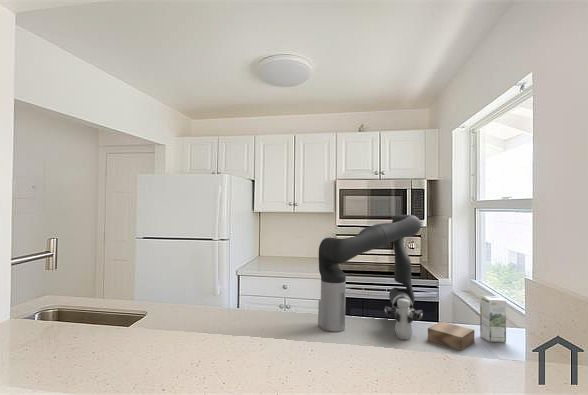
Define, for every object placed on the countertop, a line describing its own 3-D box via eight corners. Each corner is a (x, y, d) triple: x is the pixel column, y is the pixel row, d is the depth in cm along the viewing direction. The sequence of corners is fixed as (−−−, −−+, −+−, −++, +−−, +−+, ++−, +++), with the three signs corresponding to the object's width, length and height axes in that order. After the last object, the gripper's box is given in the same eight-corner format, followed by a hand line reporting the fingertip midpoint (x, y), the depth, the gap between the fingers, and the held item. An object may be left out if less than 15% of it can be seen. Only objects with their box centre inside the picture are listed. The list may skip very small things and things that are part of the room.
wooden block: (427, 340, 109) (427, 328, 109) (441, 332, 116) (441, 321, 117) (462, 350, 101) (461, 337, 101) (474, 341, 108) (474, 329, 108)
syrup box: (496, 336, 114) (495, 295, 114) (506, 343, 108) (506, 299, 108) (480, 336, 114) (479, 294, 115) (489, 342, 108) (489, 299, 109)
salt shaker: (413, 341, 107) (413, 302, 108) (395, 339, 108) (396, 300, 109) (410, 335, 113) (410, 298, 114) (394, 333, 114) (394, 296, 115)
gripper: (384, 294, 127) (382, 306, 111) (421, 298, 123) (426, 310, 106) (384, 314, 127) (382, 328, 110) (422, 318, 122) (426, 333, 106)
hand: (404, 319), depth 108 cm, fingers closed on salt shaker, 3 cm apart
